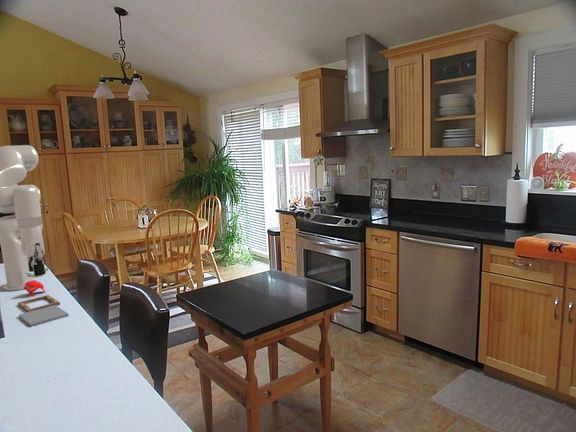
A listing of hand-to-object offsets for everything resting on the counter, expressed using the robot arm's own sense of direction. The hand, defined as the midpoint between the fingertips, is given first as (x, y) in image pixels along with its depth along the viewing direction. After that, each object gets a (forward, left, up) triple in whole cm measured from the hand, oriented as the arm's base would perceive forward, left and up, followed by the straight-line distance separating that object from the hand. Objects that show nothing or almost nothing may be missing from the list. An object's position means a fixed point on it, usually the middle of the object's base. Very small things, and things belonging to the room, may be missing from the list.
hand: (37, 273), depth 151 cm
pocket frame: (-15, +3, -16) cm, 22 cm away
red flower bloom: (-31, +6, -16) cm, 35 cm away
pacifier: (-1, 0, -1) cm, 2 cm away
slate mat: (0, 0, -16) cm, 16 cm away
